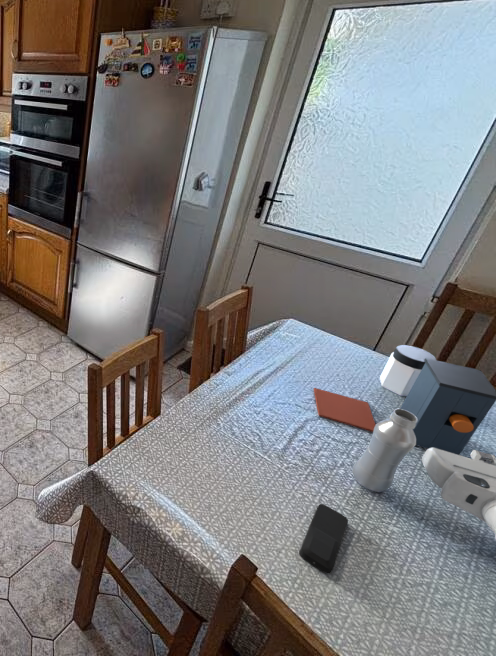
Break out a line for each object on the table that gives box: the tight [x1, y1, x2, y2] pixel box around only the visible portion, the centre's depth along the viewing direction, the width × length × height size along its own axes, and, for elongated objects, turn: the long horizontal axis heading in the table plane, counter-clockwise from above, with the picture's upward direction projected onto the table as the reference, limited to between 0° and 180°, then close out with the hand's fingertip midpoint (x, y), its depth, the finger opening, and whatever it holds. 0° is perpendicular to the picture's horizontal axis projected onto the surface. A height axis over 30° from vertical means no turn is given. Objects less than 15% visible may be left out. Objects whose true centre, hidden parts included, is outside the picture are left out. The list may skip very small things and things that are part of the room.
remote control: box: [298, 503, 349, 575], centre depth 80 cm, size 5×2×15 cm
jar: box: [379, 344, 437, 397], centre depth 116 cm, size 9×8×12 cm
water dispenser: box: [399, 358, 496, 455], centre depth 99 cm, size 10×11×19 cm
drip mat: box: [313, 387, 377, 433], centre depth 111 cm, size 12×12×1 cm
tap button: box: [449, 414, 474, 433], centre depth 94 cm, size 3×2×3 cm
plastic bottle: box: [351, 408, 418, 493], centre depth 87 cm, size 6×7×20 cm
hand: (481, 454), depth 85 cm, fingers closed
